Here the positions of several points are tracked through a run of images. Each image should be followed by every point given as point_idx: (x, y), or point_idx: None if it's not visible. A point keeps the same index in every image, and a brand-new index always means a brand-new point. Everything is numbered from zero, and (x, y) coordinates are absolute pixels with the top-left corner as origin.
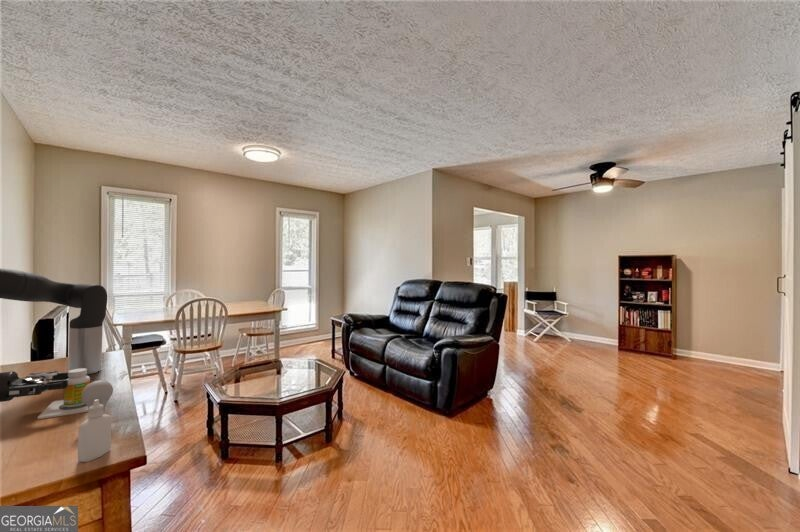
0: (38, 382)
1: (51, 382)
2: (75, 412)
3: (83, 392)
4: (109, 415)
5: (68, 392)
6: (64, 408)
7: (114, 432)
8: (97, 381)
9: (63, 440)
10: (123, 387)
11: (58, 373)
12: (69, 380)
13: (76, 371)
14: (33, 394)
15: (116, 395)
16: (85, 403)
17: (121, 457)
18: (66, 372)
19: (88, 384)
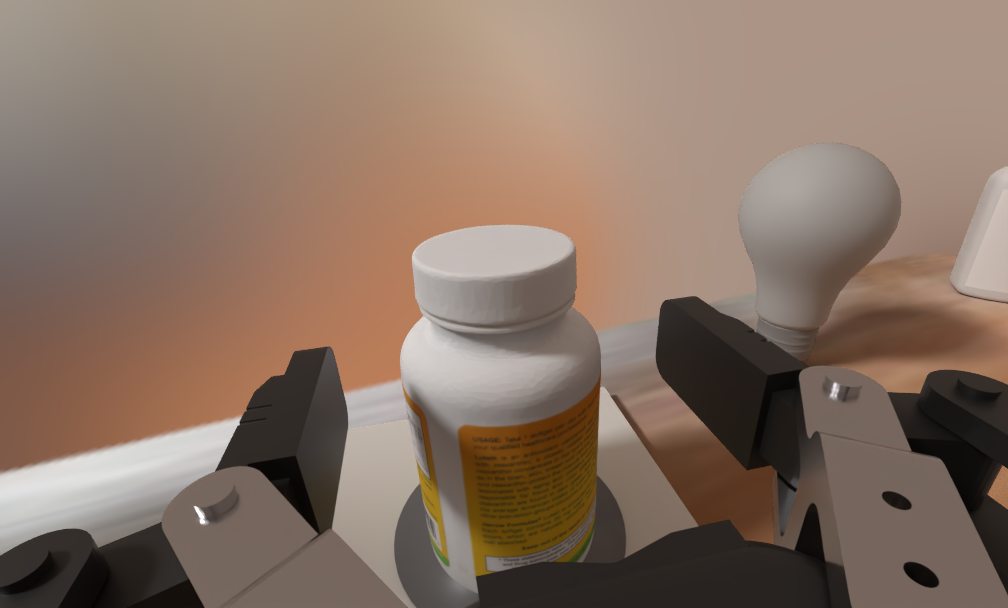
0: (888, 444)
1: (776, 358)
2: (661, 478)
3: (898, 201)
4: (1000, 169)
5: (596, 439)
6: None
7: (837, 305)
8: (838, 143)
9: None
10: (199, 435)
11: (255, 477)
12: (578, 340)
13: (544, 239)
14: (1002, 524)
15: (367, 417)
16: (864, 266)
17: None
18: (298, 396)
19: (865, 163)
